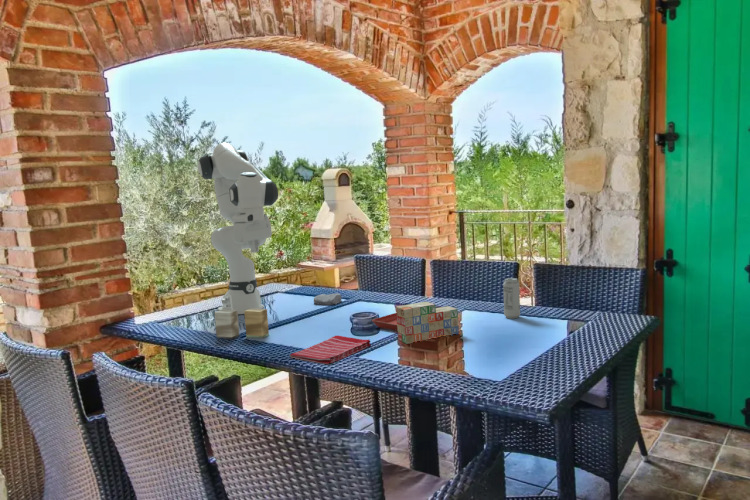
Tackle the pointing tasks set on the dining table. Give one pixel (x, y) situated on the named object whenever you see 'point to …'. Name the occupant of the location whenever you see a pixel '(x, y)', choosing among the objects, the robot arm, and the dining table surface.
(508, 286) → the energy drink can
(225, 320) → the pine block
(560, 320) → the dining table surface
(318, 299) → the stone block
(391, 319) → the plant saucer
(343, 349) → the dish towel
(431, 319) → the stack of blocks
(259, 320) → the oak block
